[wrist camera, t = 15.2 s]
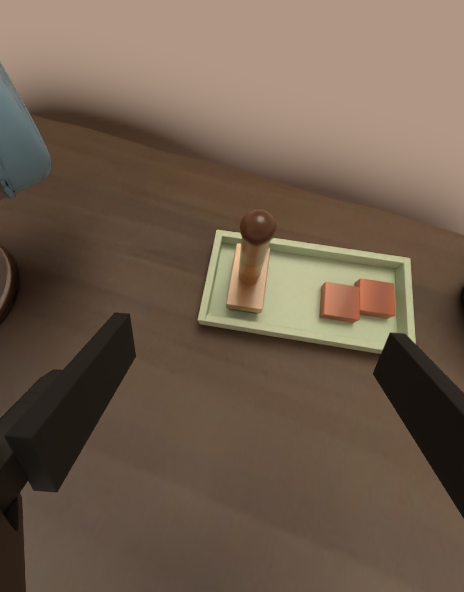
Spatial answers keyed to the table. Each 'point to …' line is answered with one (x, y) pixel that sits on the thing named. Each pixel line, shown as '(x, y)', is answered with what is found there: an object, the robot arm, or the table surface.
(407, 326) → the tray
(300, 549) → the table surface
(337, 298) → the chip
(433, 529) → the table surface
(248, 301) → the wooden handle stamp
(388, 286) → the orange square block
